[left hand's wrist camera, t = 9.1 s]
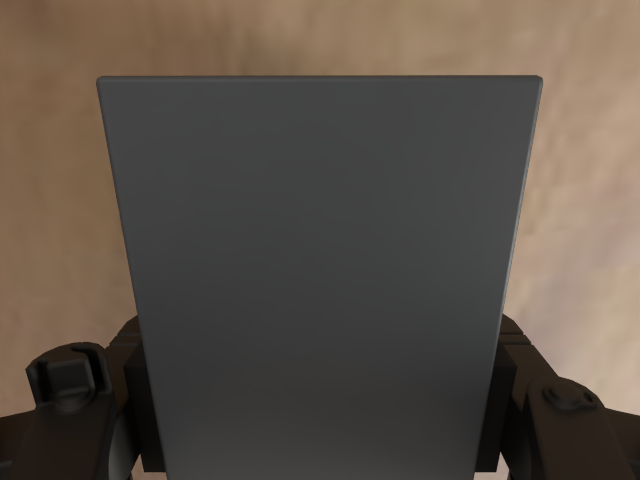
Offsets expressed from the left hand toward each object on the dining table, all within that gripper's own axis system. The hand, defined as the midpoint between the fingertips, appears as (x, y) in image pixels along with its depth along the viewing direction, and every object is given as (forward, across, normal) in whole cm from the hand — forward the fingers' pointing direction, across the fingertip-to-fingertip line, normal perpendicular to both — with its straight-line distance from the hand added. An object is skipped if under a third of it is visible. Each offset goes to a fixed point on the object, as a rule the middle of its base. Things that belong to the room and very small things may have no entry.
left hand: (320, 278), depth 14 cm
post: (+1, 0, -34) cm, 34 cm away
